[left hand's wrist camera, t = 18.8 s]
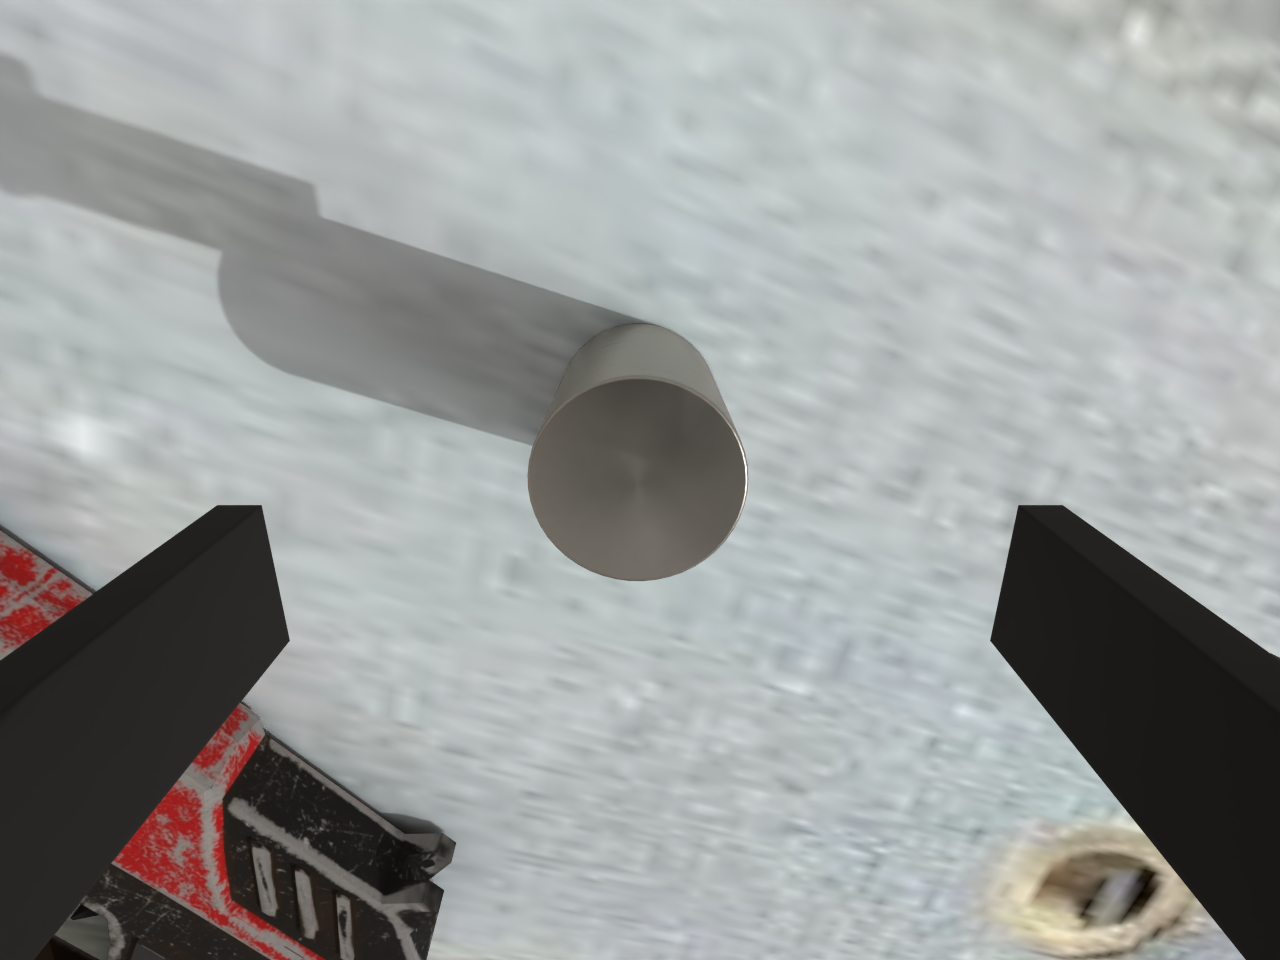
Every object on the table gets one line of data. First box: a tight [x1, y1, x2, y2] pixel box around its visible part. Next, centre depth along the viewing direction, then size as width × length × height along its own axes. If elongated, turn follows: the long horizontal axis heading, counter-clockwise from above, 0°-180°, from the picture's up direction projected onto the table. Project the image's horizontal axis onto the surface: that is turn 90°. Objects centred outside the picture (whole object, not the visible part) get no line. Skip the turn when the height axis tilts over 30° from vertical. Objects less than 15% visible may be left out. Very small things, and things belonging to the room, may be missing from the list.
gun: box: [0, 530, 456, 960], centre depth 27 cm, size 4×31×19 cm
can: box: [528, 324, 748, 581], centre depth 20 cm, size 5×5×8 cm
